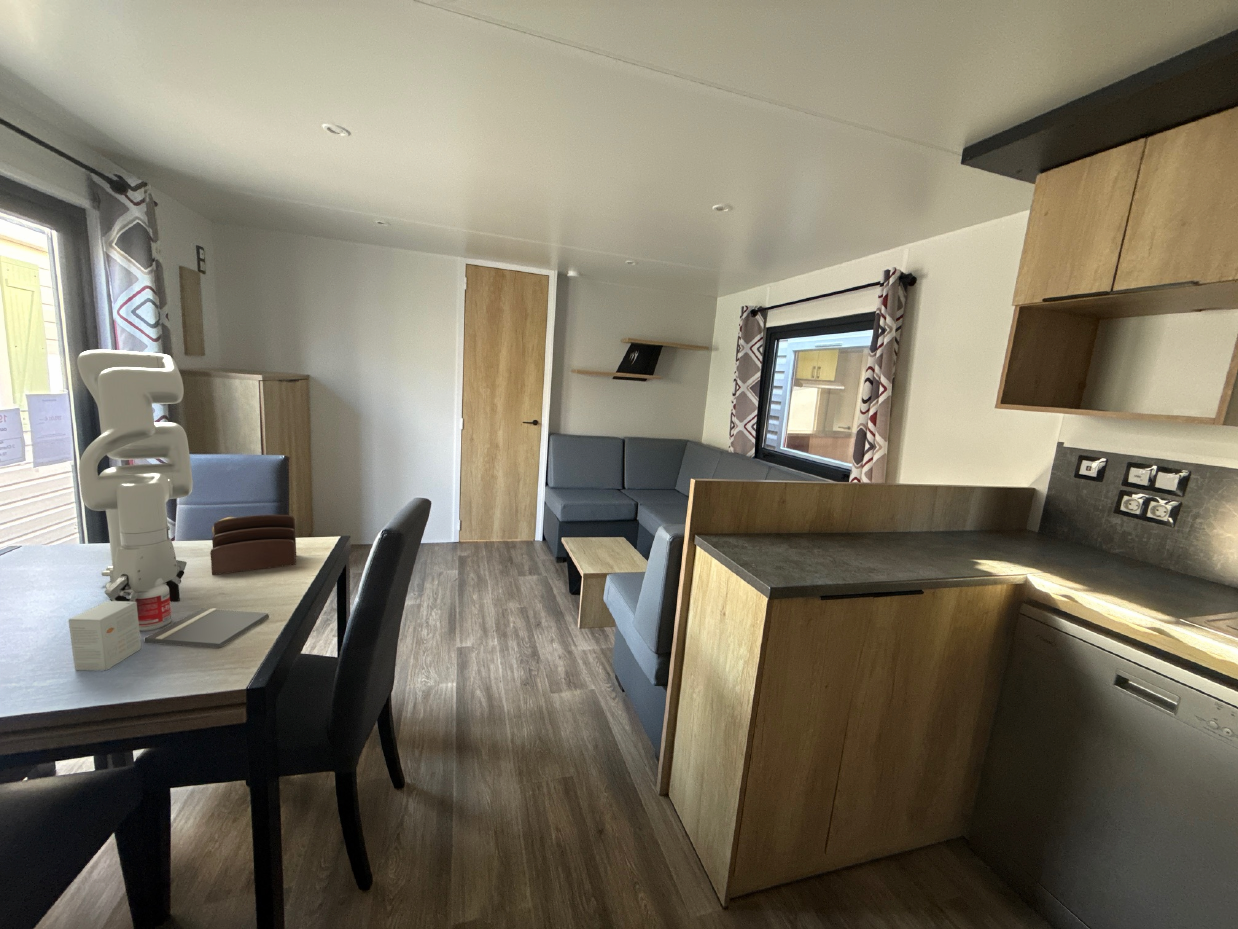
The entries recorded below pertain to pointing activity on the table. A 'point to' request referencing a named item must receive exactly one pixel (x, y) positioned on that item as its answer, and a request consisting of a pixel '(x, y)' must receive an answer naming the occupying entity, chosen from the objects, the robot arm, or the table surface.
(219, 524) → the letter holder
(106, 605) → the small box
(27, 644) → the table surface
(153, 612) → the pill bottle
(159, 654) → the table surface
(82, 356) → the robot arm
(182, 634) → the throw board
